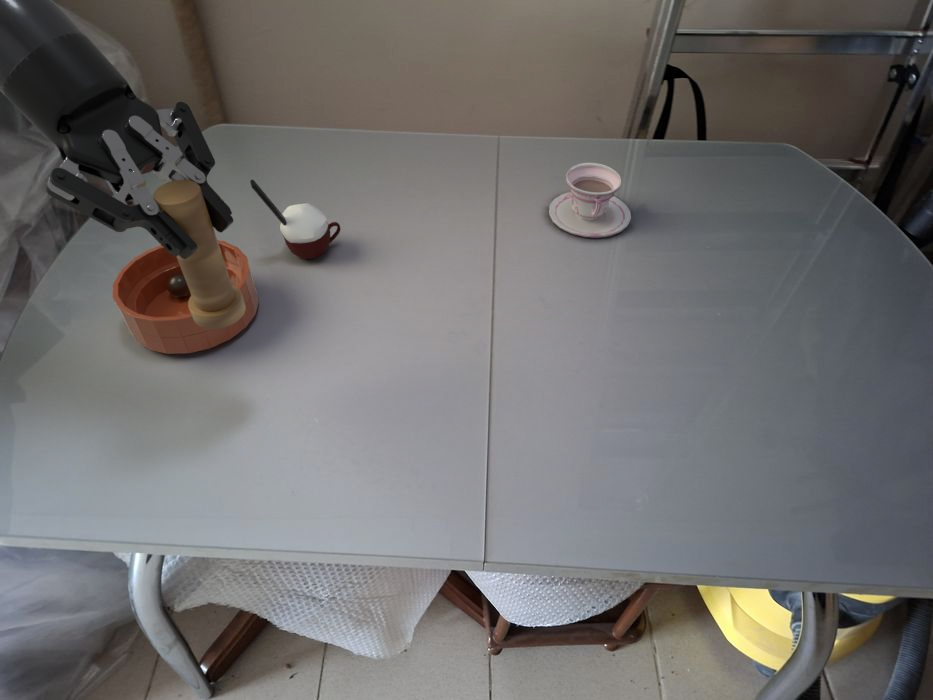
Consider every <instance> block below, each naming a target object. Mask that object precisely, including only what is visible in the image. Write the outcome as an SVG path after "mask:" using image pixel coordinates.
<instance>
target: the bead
mask: <svg viewBox="0 0 933 700" xmlns="http://www.w3.org/2000/svg"><path fill="white" fill-rule="evenodd" d="M167 289H168V291H169V293H170V294H171V295H173V296H174V297H177V298H184V297H187V296H188V295H190V294H191V293H190V291H189V288H188V285H187V283H186V280H185V278H184V275H183V274H175V275H173V276H171V277H170V278H169V280H168V282H167Z"/></svg>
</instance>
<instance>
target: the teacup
mask: <svg viewBox="0 0 933 700" xmlns="http://www.w3.org/2000/svg"><path fill="white" fill-rule="evenodd" d="M565 183H566V184H567V186H568V188H569V190H570V191H568V192H565V193H562V194H560V195H558V196H556V197H555V198H554V199H552V200H551V203H550V205H548V206H549V207H548V215H549V218H550V220H551V221H552V223H553V224H555V225H556V226H557V227H558V228H559V229H561V230H563V231H565V232H567V233H570V234H571V235H575V236H580V237H583V238H594V239H595V238H596V239H597V238H605V237H606V238H607V237H612V236H615V235H617V234H619V233H621V232H623V231H624V230H625V229H626V228H628V226H629V224H630V222H631V220H632V216H631V215H632V213H631V209H630V208H629V207H628V205H627V204H626V203H625V202H623V201H622V200H621V199H619V198H618V197H616V196H615V194H616V193H617V192H618V191H619V190H620V188H621V186H622V177H621V175H620V174H619V173H618V172H617V171H616V170H615V169H613V168H612V167H610V166H608V165H605V164H602V163H598V162H581V163H577V164H575V165H573V166H571V167H570V168H569V169H568V171H567V172H566V176H565Z"/></svg>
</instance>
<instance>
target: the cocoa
mask: <svg viewBox="0 0 933 700" xmlns="http://www.w3.org/2000/svg"><path fill="white" fill-rule="evenodd" d="M249 183H250V186H251V188H252V190H253V191H254V192H255V193H256V194H257V196H258V197H259V198H260V199H261V200H262V202H263V203H264V204H265V205H266V206H267V207H268V208H269V210H270V211H271V212H272V213H273V215H274V216H275V217H276V218H277V219H278V220H279V222H280V226H279V230H280V232H281V234H282V237H283V240H284V242H285V245H286V246H287V248H288V250H289V251H290V253H292V254H293V255H294V256H296V257H298V258H300V259H305V260H309V259H315V258H318V257H320V256H322V255H323V254H324V253H325V252H327V250H328V248H329V246H330V244H331V243H333V241H334V240H335V239H336V238H337V237H338V236H339V234H340V232H341V225H340V224H339V223H338V222H337V221H332V222H330V223H329V222H328V220H327V217H326V215H325V213H324V212H323V211H321V210H319V209H318V208H317V207H315V206H314V205H312V204H311V203H306V202H305V203H298V204H293V205H292V204H291V205H288V206H287V207H286V209H284V211H283V212H281V211H280V210H279V208H278V207H277V206H276V205H275V203H273V201H272V200H271V199H270V198H269V197H268V195H267V194H266V193H265V192H264V190H263V189H262V188H261V187H260V186H259V185H258V183H257V182H256V181H255V180H254V179H250V181H249ZM333 227H336V230H335V232H334V233H333V234H332V235H331V229H332V228H333Z"/></svg>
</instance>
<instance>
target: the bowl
mask: <svg viewBox="0 0 933 700" xmlns="http://www.w3.org/2000/svg"><path fill="white" fill-rule="evenodd" d="M217 241H218V244H219V247H220V250H221V253H222V256H223V259H224V262H225V265H226V268H227V272H228V275H229V278H230V281H231V284H233V285H235V286H236V287H238V288H239V289H240V291H241V293H242V296H243V299H244V302H245V312H244V314H243V316H242V317H241V318H240V319H239V320H238V321H237V322H235V323H234V324H232V325H230V326H227V327H224V328H220V329H206V328H203V327H200V326H199V325H197V324H196V323H195V322H194V320H193V317H192V315H191V312H190V310H189V307H188V301H189V299H190V297H191V294H190V295H188V296H187V297H184V298H177V297H174V296H173V295H171V294H170V293H169V291H168V289H167V282H168V280H169V278H170V277H171V276H173V275H175V274H183V272H182V270H181V267H180V265H179V262H178V260H177V257H175V256H173V255H171V254H170V253H169V252H168V251H167V250H166V249H165V248H164V247H163V246H162V245H161V244H160V245H157V246H155V247H153V248H150V249H148V250H146V251H144V252H143V253H141V254H139V255H138V256H136V257H134V258H132V259H131V260H130V261H129V262H128V263H127V264H126V265H125V266H124V267H122V269H121V270H120V271H119V272H118V274H117V276H116V278H115V279H114V282H113V284H112V299H113V301H114V303H115V306H116V308H117V309H118V311H119V313H120V315H121V317H122V320H123V321H124V323H125V325H126V327H127V330H128V331H129V333H130V334H131V336H132V338H133V339H134V341H135V342H136V343H138V344H139V345H140V346H142V347H144V348H146V349H147V350H149V351H153V352H158V353H161V354H162V353H163V354H166V355H168V354H169V355H172V354H174V355H176V354H192V353H197V352H201V351H204V350H209V349H213V348H214V347H216V346H219V345H221V344H223V343H225V342H228V341H230V340H232V339H233V338H234V337H236V335H238V334H239V333H240V332H242V331H243V330H244V329H246V328H247V326H248V325H249V324H250V322H251V321H252V320H253V319H254V317H256V315H257V309H258V305H259V302H260V299H259V295H258V290H257V288H256V283H255V281H254V277H253V273H252V270H251V266H250V264H249V263H250V262H249V259H248V257H247V256H246V254H244V253H243V252H242V250H241V249H240V248H239V247H237V246H236V245H233V244H231V243H229V242H228V241H225V240H220V239H217Z"/></svg>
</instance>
